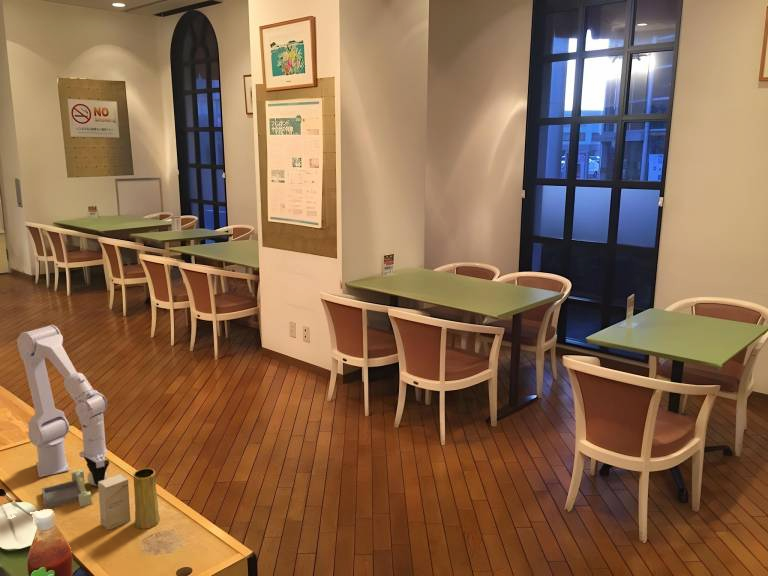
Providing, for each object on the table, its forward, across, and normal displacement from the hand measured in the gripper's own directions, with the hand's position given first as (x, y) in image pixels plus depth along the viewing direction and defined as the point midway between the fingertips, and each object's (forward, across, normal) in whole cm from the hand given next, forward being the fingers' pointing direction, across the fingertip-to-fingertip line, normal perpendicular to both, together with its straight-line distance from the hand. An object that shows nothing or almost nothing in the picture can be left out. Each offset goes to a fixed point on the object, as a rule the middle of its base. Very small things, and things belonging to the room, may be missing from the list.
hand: (97, 479), depth 183 cm
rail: (+2, +2, -5) cm, 5 cm away
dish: (+2, +2, -10) cm, 10 cm away
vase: (+2, +26, +7) cm, 27 cm away
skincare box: (+2, +22, 0) cm, 22 cm away
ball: (-1, 0, 0) cm, 1 cm away
